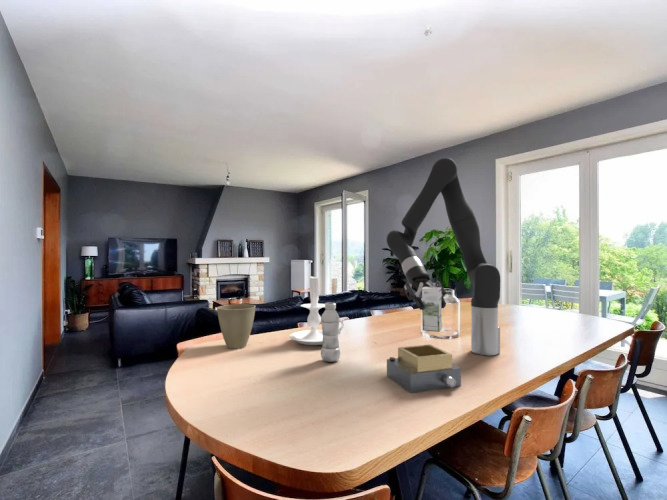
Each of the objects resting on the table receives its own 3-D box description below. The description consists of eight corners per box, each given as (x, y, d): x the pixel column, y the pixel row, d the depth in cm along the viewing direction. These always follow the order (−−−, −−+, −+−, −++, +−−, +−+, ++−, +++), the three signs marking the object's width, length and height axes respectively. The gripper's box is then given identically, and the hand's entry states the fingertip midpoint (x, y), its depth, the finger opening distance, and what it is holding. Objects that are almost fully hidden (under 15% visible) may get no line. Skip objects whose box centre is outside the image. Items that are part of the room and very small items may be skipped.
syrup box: (442, 328, 121) (441, 286, 121) (439, 332, 115) (438, 288, 115) (425, 327, 123) (424, 286, 123) (422, 331, 118) (421, 287, 118)
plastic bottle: (338, 364, 118) (338, 304, 118) (318, 363, 119) (318, 304, 119) (341, 358, 124) (341, 302, 124) (323, 357, 125) (323, 301, 125)
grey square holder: (432, 370, 112) (432, 341, 112) (468, 390, 96) (467, 356, 96) (386, 375, 107) (386, 346, 107) (416, 397, 91) (416, 362, 91)
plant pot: (263, 344, 143) (263, 305, 143) (235, 353, 131) (235, 310, 131) (237, 340, 151) (237, 302, 151) (208, 348, 139) (208, 307, 139)
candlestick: (356, 344, 144) (356, 275, 144) (301, 352, 132) (301, 278, 132) (333, 333, 162) (333, 273, 162) (282, 340, 150) (282, 274, 150)
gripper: (400, 265, 125) (418, 302, 114) (435, 264, 129) (456, 299, 118) (394, 279, 130) (410, 315, 119) (427, 277, 134) (446, 312, 123)
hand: (433, 307), depth 118 cm, fingers closed on syrup box, 8 cm apart
